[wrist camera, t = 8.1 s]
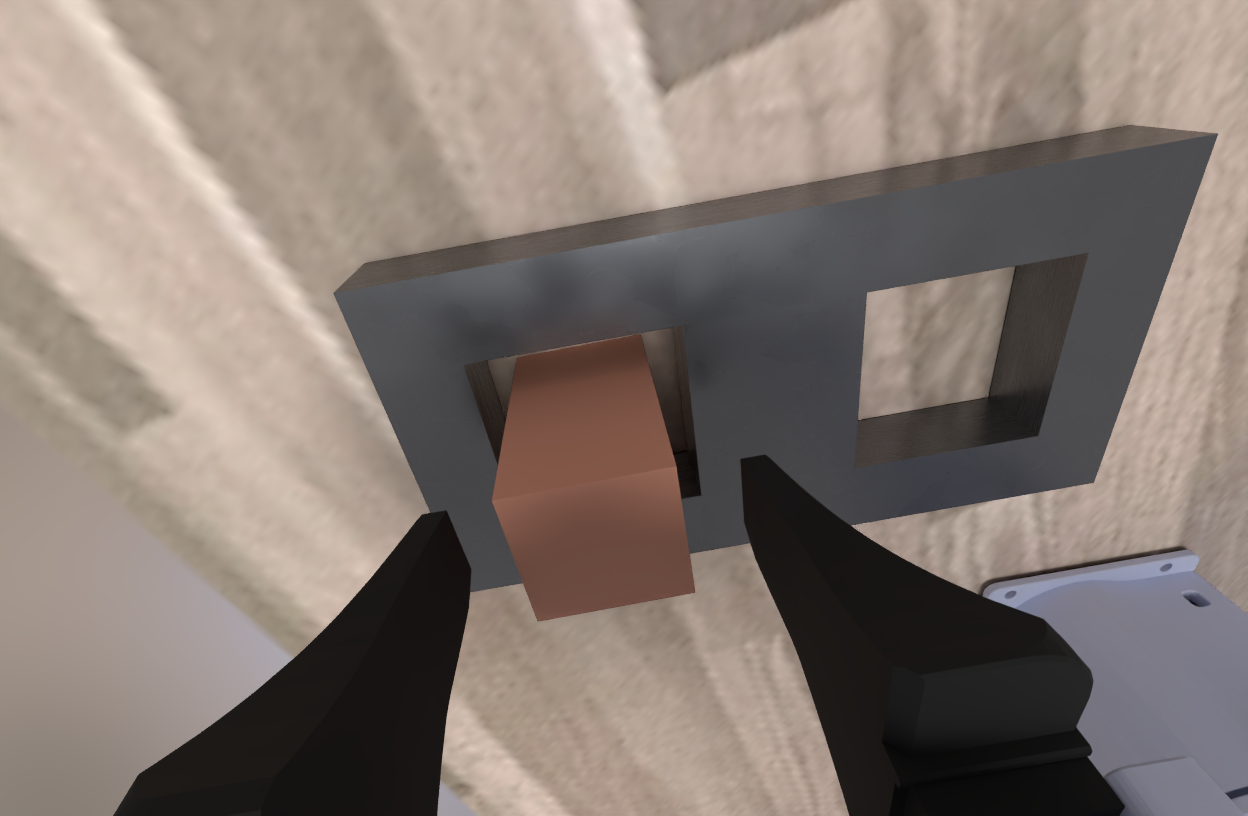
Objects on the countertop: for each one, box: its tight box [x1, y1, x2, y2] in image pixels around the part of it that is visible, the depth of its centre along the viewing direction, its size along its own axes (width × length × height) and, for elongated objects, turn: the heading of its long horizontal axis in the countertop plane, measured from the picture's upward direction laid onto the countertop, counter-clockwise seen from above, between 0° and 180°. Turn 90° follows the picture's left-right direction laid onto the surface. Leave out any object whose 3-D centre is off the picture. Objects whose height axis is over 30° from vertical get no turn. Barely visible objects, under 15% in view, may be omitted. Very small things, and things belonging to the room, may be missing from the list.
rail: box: [334, 125, 1218, 592], centre depth 18 cm, size 22×11×2 cm, turn 99°
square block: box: [492, 334, 695, 621], centre depth 16 cm, size 4×4×7 cm
